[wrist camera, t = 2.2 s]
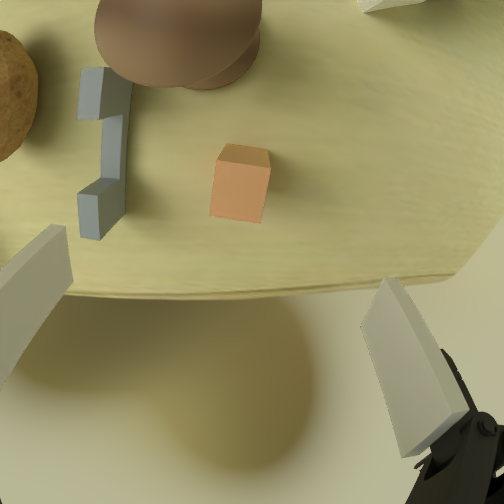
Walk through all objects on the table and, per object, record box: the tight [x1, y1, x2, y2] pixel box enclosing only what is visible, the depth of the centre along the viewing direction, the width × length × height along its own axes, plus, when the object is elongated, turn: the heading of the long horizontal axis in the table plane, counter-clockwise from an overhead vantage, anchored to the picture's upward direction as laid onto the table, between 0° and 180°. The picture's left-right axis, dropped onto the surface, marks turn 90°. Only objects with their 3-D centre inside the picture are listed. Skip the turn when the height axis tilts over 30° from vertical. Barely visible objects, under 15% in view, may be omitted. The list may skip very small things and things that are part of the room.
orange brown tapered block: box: [209, 144, 271, 223], centre depth 23 cm, size 4×4×7 cm
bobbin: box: [94, 0, 262, 90], centre depth 16 cm, size 9×9×11 cm
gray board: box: [77, 67, 133, 241], centre depth 22 cm, size 14×2×6 cm, turn 170°
